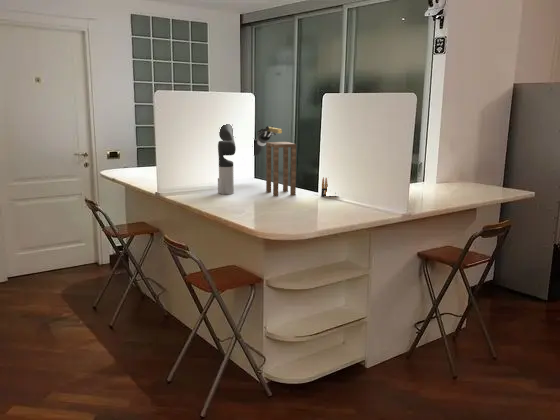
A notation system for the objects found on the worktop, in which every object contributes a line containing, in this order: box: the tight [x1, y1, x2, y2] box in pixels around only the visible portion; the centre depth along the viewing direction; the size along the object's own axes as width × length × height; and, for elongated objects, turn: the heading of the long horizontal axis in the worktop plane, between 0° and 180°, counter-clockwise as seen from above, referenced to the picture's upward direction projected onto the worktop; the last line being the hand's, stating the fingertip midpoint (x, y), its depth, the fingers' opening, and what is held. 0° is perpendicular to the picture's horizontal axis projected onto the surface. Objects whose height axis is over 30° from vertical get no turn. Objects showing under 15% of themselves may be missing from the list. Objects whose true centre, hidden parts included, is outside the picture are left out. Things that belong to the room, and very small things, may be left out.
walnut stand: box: [265, 141, 297, 197], centre depth 328 cm, size 16×14×32 cm
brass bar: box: [268, 126, 283, 134], centre depth 336 cm, size 24×2×2 cm, turn 20°
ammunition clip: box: [320, 177, 328, 198], centre depth 322 cm, size 11×2×12 cm, turn 80°
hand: (270, 127), depth 342 cm, fingers closed on brass bar, 2 cm apart
